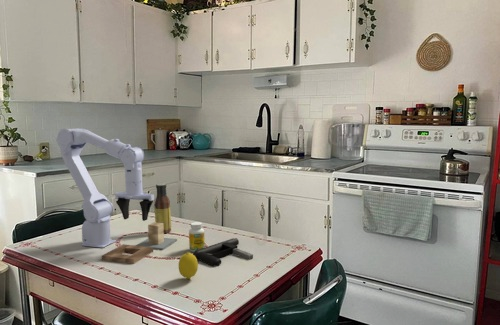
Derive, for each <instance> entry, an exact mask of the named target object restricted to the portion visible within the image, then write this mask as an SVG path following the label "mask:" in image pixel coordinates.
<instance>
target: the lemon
mask: <svg viewBox="0 0 500 325" xmlns="http://www.w3.org/2000/svg"><path fill="white" fill-rule="evenodd" d="M198 268H199V263H198V259H196V257H195V256H194V255H193V253H191V252H186V253H184V254H183V255H181V256H180V258H179V260H178V271H179V274H180V275H181V276H182V277H183V278H186V279H187V280H190V279H191V278H193V277H194V276H196V274H197V272H198Z"/></svg>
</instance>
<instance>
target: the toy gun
mask: <svg viewBox="0 0 500 325" xmlns="http://www.w3.org/2000/svg"><path fill="white" fill-rule="evenodd" d="M239 244H240V242H239V239H238V238H237V237H235V238H234V237H233V238H229V239H227V240H223V241H221V242H217V243H215V244H211V245H208V246H205V248H202V249H199V250H196V251H194V252H193V253H192V254H193V255H194V256H195V257H196V259H197V260H199V261H201V262H203V263H205V264H208V265H210V266H212V267H218V266H221V265H222V260H221V259H223V258H227V257H229V256H231V255H235V256H237V257H240V258H243V259H247V260H252V259H254V254H253V253H250V252H247V251H246V250H243V249H240V248H238V246H239Z"/></svg>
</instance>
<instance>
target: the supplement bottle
mask: <svg viewBox="0 0 500 325" xmlns="http://www.w3.org/2000/svg"><path fill="white" fill-rule="evenodd" d="M188 242H189V243H188V244H189V245H188V246H189V251H190V252H194V251H196V250H199V249H202V248H205V247H206V244H205V243H206V242H205V229H204V228H203V223H202V222H200V221H195V222H191V223H190V229H189V230H188Z"/></svg>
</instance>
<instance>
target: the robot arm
mask: <svg viewBox="0 0 500 325" xmlns="http://www.w3.org/2000/svg"><path fill="white" fill-rule="evenodd" d="M56 142H57V144H58V146H59V149H60V154H61V157H62V160H63V162H64V164H65V165H66V168H67V169H68V172H69V173H70V175H71V177H72V180H74V183H75V185H76V186H77V188H78V190H79V192H80V194H81V196H82V199H83V202H82V203H81V208H82V211H83V217H84V219H85V220H84V222H83V223H82V226H81V236H82V237H81V238H82V241H81V242H82V243H81V244H80V246H84V247H92V248H94V247H95V248H101V249H102V248H105V247H107V246H109V245H112V244H113V243H116V241H117V240H116V239H112V238H111V236H112V235H111V219H112V218H111V215H112V214H114V205H113V203H112V202H111V201H110V200H109V199H108V198H107V196H106V195H104V194H102V193H101V192H99V191H98V188H97V187H96V184H95V183H94V181H93V179H92V177H91V175H90V173H89V172H88V170H87V168H86V165H85V164H84V162H83V160H82V158H81V157H80V155H81V152H82V151H83V150H84V148H85V147H86V145H87V144H89V145H92V146H96V147H98V148H100V149H104V151H105V154H107V155H109V156H111V157H113V158H116V159H118V160H120V161H121V162H122V164H123V168H124V180H125V192H115V195H114V198H115V199H116V200H115V203H116V205H117V206H118V207H119V209H120V212H121V214H122V217H123V220H127V219H129V218H130V209H129V208H130V201H131V200H135V201H136V200H138V201H139V205H140V209H141V218H142V221H143V222H145V221H147V220H148V218H149V213H150V209H151V207H152V205H153V203H154V200H155V194H154V193H153V194H152V193H147V192H146V193H145V192H144V191H143V190H144V189H143V188H144V187H143V172H142V171H143V169H142V168H143V167H142V166H143V165H142V162H143V161H144V160H145V152H144V149H142V148H141V147H139V146H133V147H132V145H131V144H130V143H127V144H126V143H123V142H122V141H120V139H119V138H112V139H109V140H108V139H106V138H104V137H102V136H100V135H98V134H96V133H94V132H92V131H90V130H89V129H85V128H84V127H77V128H62V129H60V130H59V131H58V133H57V137H56Z"/></svg>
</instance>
